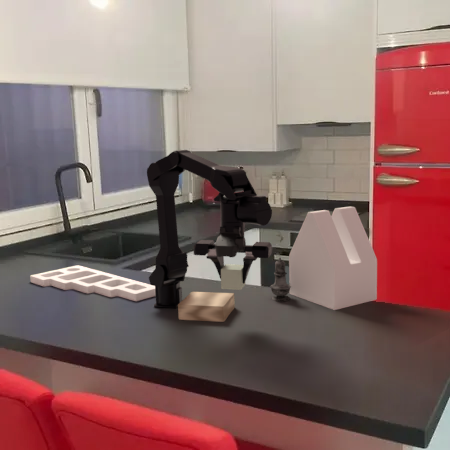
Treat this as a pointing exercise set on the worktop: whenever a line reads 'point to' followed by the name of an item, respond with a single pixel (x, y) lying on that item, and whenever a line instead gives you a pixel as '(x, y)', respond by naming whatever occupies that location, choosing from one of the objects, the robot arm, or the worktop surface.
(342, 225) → the milk carton
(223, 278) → the sage cube
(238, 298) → the worktop surface
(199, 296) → the oak riser block
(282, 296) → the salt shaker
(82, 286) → the holder
